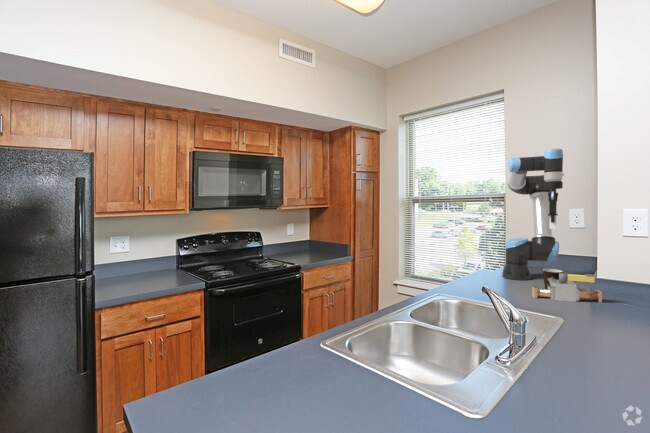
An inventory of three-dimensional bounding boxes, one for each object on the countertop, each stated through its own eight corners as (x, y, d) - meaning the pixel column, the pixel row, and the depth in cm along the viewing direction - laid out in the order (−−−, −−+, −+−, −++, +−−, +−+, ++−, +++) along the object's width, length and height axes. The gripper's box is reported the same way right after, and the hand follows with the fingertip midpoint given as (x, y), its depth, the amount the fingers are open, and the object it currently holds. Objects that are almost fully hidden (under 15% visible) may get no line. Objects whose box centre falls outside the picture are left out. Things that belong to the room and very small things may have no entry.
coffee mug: (538, 288, 174) (538, 269, 173) (548, 286, 177) (549, 268, 177) (562, 294, 163) (562, 274, 163) (572, 291, 167) (573, 272, 166)
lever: (559, 281, 155) (559, 273, 155) (558, 280, 158) (558, 272, 158) (594, 284, 150) (594, 275, 149) (592, 282, 153) (592, 274, 152)
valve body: (531, 294, 164) (531, 278, 164) (595, 298, 155) (596, 281, 155) (535, 299, 157) (535, 282, 157) (603, 303, 148) (603, 285, 148)
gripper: (561, 180, 155) (561, 230, 157) (563, 180, 166) (562, 227, 167) (542, 181, 160) (542, 229, 161) (545, 181, 170) (544, 227, 171)
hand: (552, 228), depth 164 cm, fingers closed
